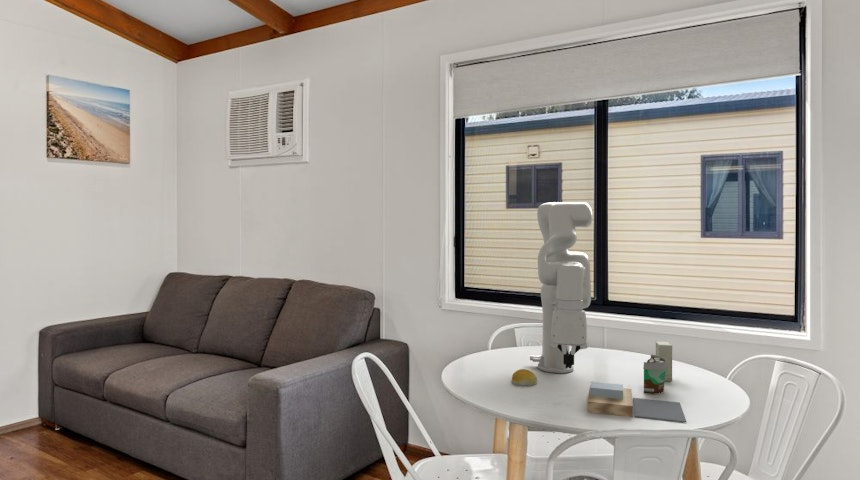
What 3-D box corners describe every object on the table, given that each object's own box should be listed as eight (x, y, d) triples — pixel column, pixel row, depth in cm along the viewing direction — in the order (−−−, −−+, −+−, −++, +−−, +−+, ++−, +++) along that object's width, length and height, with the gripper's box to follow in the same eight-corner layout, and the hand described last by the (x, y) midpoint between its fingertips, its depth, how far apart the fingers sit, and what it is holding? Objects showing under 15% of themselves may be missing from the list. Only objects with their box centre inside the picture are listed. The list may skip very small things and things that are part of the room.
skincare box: (672, 381, 186) (673, 345, 185) (658, 380, 187) (659, 344, 186) (668, 376, 192) (669, 341, 191) (654, 375, 193) (655, 340, 192)
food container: (664, 397, 169) (664, 365, 169) (642, 394, 172) (643, 362, 172) (670, 387, 180) (671, 356, 179) (650, 384, 183) (651, 354, 182)
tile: (590, 396, 161) (590, 387, 161) (591, 389, 167) (591, 381, 167) (623, 399, 158) (623, 390, 158) (622, 393, 164) (622, 384, 164)
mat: (634, 417, 153) (634, 415, 153) (632, 398, 168) (632, 397, 168) (686, 422, 149) (686, 421, 149) (679, 403, 164) (679, 402, 164)
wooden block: (587, 411, 157) (587, 401, 157) (589, 394, 172) (590, 384, 172) (632, 416, 153) (632, 406, 153) (631, 398, 168) (631, 388, 168)
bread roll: (511, 386, 181) (511, 373, 181) (512, 378, 189) (512, 366, 189) (537, 387, 179) (537, 375, 179) (537, 379, 188) (537, 367, 188)
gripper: (542, 305, 163) (541, 368, 164) (595, 308, 159) (594, 372, 159) (545, 302, 171) (544, 362, 171) (596, 305, 166) (595, 366, 166)
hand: (568, 367), depth 165 cm, fingers closed
